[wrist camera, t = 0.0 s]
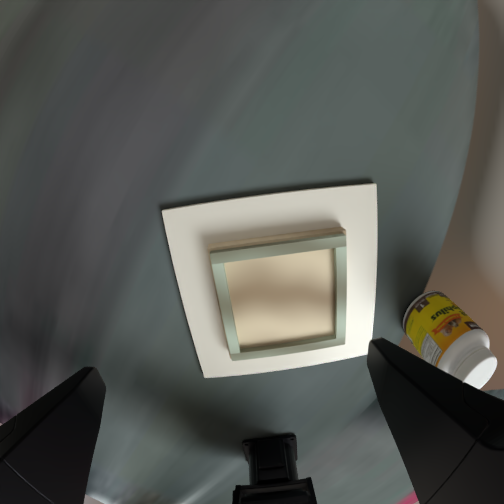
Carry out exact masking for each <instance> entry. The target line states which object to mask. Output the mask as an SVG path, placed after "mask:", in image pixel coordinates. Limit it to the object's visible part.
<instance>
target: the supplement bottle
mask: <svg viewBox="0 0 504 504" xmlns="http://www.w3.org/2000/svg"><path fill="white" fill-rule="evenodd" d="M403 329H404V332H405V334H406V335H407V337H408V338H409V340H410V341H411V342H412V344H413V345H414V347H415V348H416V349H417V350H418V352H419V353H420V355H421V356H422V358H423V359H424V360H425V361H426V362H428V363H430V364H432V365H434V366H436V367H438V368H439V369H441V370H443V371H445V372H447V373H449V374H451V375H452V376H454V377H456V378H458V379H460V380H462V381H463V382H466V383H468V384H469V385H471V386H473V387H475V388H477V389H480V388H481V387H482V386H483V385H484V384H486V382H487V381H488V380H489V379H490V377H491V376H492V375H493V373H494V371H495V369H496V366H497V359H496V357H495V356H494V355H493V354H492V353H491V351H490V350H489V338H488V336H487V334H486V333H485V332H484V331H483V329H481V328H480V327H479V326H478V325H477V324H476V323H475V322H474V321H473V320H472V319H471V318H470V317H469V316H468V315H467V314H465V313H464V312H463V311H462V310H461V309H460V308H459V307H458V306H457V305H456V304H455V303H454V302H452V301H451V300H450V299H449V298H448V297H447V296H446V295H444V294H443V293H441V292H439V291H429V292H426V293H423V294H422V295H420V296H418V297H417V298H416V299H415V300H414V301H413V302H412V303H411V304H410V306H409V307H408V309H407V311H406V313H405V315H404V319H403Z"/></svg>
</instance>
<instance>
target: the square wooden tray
mask: <svg viewBox="0 0 504 504" xmlns="http://www.w3.org/2000/svg"><path fill="white" fill-rule="evenodd" d="M207 250H208V256H209V261H210V266H211V271H212V276H213V281H214V286H215V291H216V296H217V301H218V306H219V310H220V315H221V320H222V324H223V329H224V333H225V338H226V342H227V347H228V351H229V356H230V359H232V361H239V360H248V359H256V358H264V357H272V356H279V355H286V354H293V353H299V352H306V351H312V350H318V349H323V348H329V347H334V346H339V345H344V344H345V337H346V309H347V245H346V230H345V229H344V228H343V227H334V228H326V229H318V230H310V231H303V232H295V233H287V234H280V235H272V236H264V237H257V238H249V239H242V240H235V241H227V242H220V243H213V244H208V248H207Z"/></svg>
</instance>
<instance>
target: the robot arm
mask: <svg viewBox="0 0 504 504" xmlns="http://www.w3.org/2000/svg"><path fill="white" fill-rule="evenodd" d="M367 366H368V369H369V372H370V376H371V379H372V382H373V385H374V389H375V392H376V395H377V399H378V402H379V405H380V407H381V410H382V412H383V414H384V416H385V419H386V421H387V423H388V426H389V428H390V430H391V433H392V435H393V438H394V440H395V442H396V445H397V447H398V450H399V452H400V454H401V457H402V459H403V462H404V464H405V467H406V469H407V472H408V474H409V477H410V479H411V482H412V485H413V487H414V490H415V493H416V495H417V498H418V501H419V503H420V504H504V400H502V399H499V398H497V397H495V396H492V395H490V394H488V393H485V392H483V391H481V390H479V389H477V388H475V387H473V386H471V385H469V384H468V383H466V382H463V381H462V380H460V379H458V378H456V377H454V376H452V375H451V374H449V373H447V372H445V371H443V370H441V369H439V368H438V367H436V366H434V365H432V364H430V363H428V362H426V361H425V360H423V359H421V358H419V357H417V356H415V355H413V354H412V353H410V352H408V351H406V350H404V349H402V348H401V347H399V346H397V345H395V344H393V343H392V342H390V341H388V340H386V339H384V338H382V337H381V338H376V339H372V340H370V341H369V345H368V354H367ZM105 393H106V386H105V383H104V381H103V379H102V377H101V376H100V374H99V372H98V370H97V369H96V368H95V367H84V368H82V369H81V370H79V371H78V372H77V373H75V374H74V375H72V376H71V377H69V378H68V379H67V380H65V381H64V382H62V383H61V384H60V385H58V386H57V387H55V388H54V389H52V390H51V391H50V392H48V393H47V394H45V395H44V396H43V397H41V398H40V399H38V400H37V401H35V402H34V403H33V404H31V405H30V406H28V407H27V408H26V409H24V410H23V411H21V412H20V413H18V414H17V416H14V417H13V418H11V419H10V420H8V421H7V422H6V423H4V424H3V425H1V426H0V504H83V503H84V498H85V492H86V487H87V482H88V477H89V472H90V467H91V463H92V458H93V454H94V449H95V445H96V441H97V437H98V433H99V429H100V424H101V418H102V411H103V405H104V399H105ZM242 445H243V448H244V452H245V455H246V458H247V461H248V464H249V478H250V485H242V486H241V485H236V488H235V490H234V491H233V502H232V504H317V501H316V497H315V492H314V488H313V484H312V480H311V477H308V478H306V479H300V480H298V474H297V467H296V460H297V441H296V435H287V436H279V437H271V438H262V439H252V440H244V441H243V442H242Z"/></svg>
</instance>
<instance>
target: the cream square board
mask: <svg viewBox="0 0 504 504" xmlns="http://www.w3.org/2000/svg"><path fill="white" fill-rule="evenodd" d="M162 215H163V220H164V225H165V230H166V234H167V239H168V243H169V248H170V252H171V257H172V261H173V265H174V269H175V274H176V278H177V282H178V286H179V290H180V294H181V298H182V301H183V305H184V309H185V313H186V316H187V320H188V324H189V327H190V331H191V334H192V338H193V341H194V345H195V348H196V351H197V355H198V358H199V361H200V365H201V368H202V371H203V374H204V377H205V378H212V377H225V376H236V375H245V374H254V373H263V372H271V371H278V370H285V369H292V368H298V367H305V366H311V365H316V364H322V363H327V362H333V361H338V360H343V359H348V358H352V357H357V356H361V355H366V354H368V345H369V341H370V340H372V331H373V320H374V308H375V294H376V274H377V189H376V184H375V183H369V184H356V185H345V186H334V187H324V188H314V189H304V190H295V191H287V192H278V193H270V194H262V195H255V196H247V197H240V198H233V199H226V200H219V201H212V202H206V203H199V204H193V205H187V206H181V207H175V208H169V209H163V210H162ZM334 227H343V228H344V229H345V230H346V245H347V309H346V337H345V344H344V345H339V346H334V347H329V348H323V349H318V350H312V351H306V352H299V353H293V354H286V355H279V356H272V357H264V358H256V359H248V360H239V361H232V359H230V356H229V351H228V347H227V342H226V338H225V333H224V329H223V324H222V320H221V315H220V310H219V306H218V301H217V296H216V291H215V286H214V281H213V276H212V271H211V266H210V261H209V256H208V250H207V248H208V244H213V243H220V242H227V241H235V240H242V239H249V238H257V237H264V236H272V235H280V234H287V233H295V232H303V231H310V230H318V229H326V228H334Z"/></svg>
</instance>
